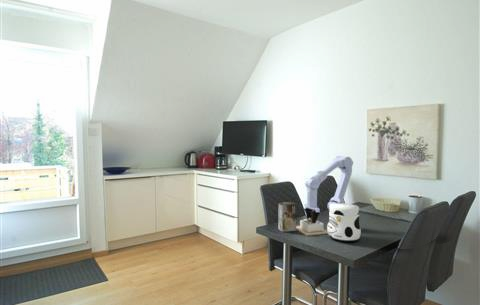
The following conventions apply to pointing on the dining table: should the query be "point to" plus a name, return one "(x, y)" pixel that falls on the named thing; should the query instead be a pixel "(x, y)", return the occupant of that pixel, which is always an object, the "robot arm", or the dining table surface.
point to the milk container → (344, 222)
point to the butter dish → (311, 228)
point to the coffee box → (287, 216)
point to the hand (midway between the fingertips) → (311, 221)
